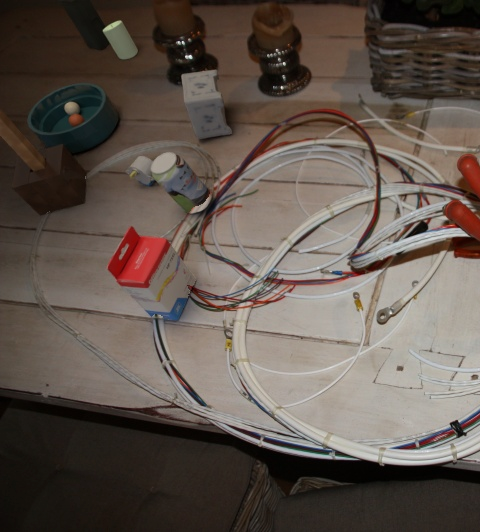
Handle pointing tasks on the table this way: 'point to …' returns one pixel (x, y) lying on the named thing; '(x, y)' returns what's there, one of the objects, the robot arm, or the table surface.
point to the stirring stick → (20, 144)
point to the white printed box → (205, 104)
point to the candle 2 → (120, 40)
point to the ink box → (152, 274)
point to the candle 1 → (87, 22)
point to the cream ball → (72, 108)
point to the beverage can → (179, 181)
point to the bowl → (57, 120)
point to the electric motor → (141, 170)
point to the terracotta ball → (76, 120)
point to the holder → (51, 181)
